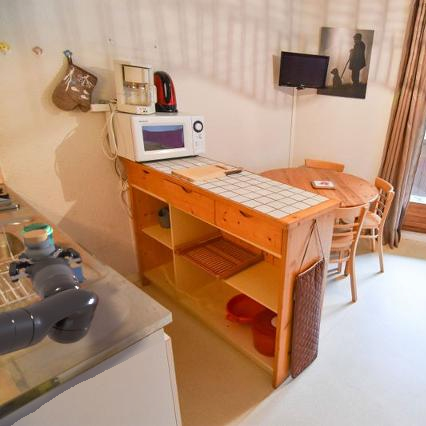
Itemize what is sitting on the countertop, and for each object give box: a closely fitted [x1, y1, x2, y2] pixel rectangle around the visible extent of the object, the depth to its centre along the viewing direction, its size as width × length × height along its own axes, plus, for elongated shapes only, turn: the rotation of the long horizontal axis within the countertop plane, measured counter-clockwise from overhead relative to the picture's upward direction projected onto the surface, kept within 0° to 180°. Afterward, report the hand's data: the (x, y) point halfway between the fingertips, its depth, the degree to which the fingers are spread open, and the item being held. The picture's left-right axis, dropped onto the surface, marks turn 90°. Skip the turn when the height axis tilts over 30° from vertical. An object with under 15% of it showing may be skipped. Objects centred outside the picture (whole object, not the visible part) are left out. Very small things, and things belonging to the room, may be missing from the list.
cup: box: [20, 222, 54, 249], centre depth 109 cm, size 8×8×12 cm
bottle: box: [22, 229, 56, 260], centre depth 82 cm, size 6×6×15 cm
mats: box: [37, 265, 85, 302], centre depth 96 cm, size 11×23×1 cm, turn 38°
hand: (39, 252), depth 83 cm, fingers closed on bottle, 6 cm apart
